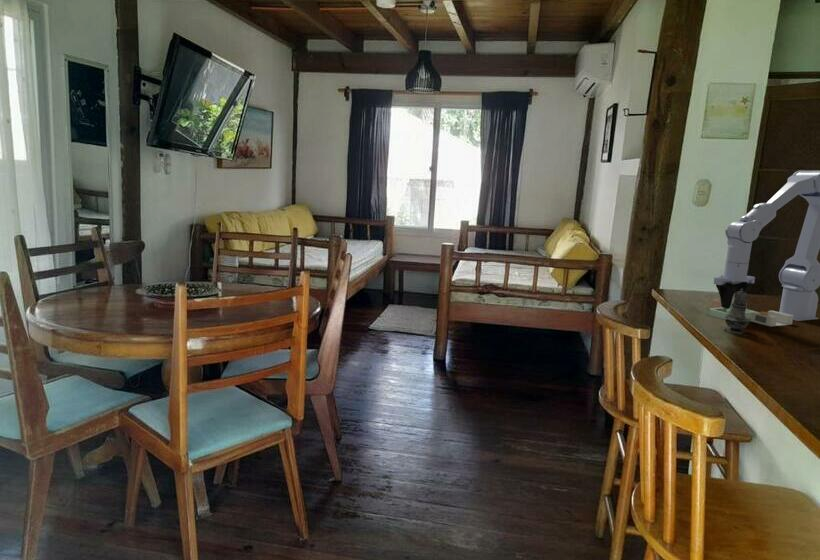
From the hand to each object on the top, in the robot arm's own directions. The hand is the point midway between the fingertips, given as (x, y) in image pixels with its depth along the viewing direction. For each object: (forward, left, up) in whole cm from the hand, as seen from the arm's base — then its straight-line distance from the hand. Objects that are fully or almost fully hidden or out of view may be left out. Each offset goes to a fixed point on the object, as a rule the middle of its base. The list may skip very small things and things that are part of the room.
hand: (730, 307), depth 156 cm
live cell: (0, 0, -2) cm, 2 cm away
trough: (-1, 0, -3) cm, 3 cm away
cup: (-8, -6, -3) cm, 11 cm away
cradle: (-6, +9, -3) cm, 11 cm away
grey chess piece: (+13, +12, -3) cm, 18 cm away
